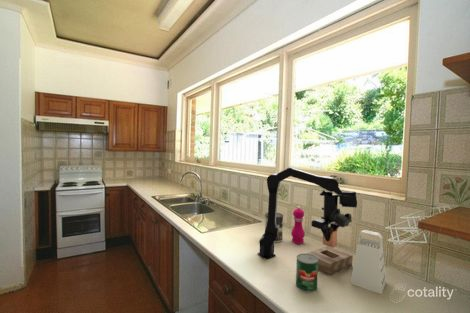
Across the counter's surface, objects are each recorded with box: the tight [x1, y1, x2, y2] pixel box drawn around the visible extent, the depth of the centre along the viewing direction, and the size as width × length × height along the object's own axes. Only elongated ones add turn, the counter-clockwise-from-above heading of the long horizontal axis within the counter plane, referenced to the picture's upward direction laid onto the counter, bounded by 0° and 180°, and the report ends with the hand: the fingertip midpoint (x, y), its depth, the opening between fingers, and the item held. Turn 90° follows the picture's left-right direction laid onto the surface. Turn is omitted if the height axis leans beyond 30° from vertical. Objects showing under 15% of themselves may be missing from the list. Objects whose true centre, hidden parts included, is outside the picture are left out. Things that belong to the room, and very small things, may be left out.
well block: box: [306, 246, 354, 277], centre depth 110 cm, size 16×12×5 cm
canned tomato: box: [295, 253, 319, 293], centre depth 93 cm, size 8×8×11 cm
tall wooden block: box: [322, 229, 338, 248], centre depth 109 cm, size 3×5×7 cm, turn 33°
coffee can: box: [264, 212, 284, 243], centre depth 139 cm, size 10×10×14 cm
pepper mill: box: [290, 205, 306, 245], centre depth 135 cm, size 7×7×20 cm
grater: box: [350, 229, 387, 295], centre depth 96 cm, size 10×10×20 cm
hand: (329, 240), depth 109 cm, fingers closed on tall wooden block, 3 cm apart
